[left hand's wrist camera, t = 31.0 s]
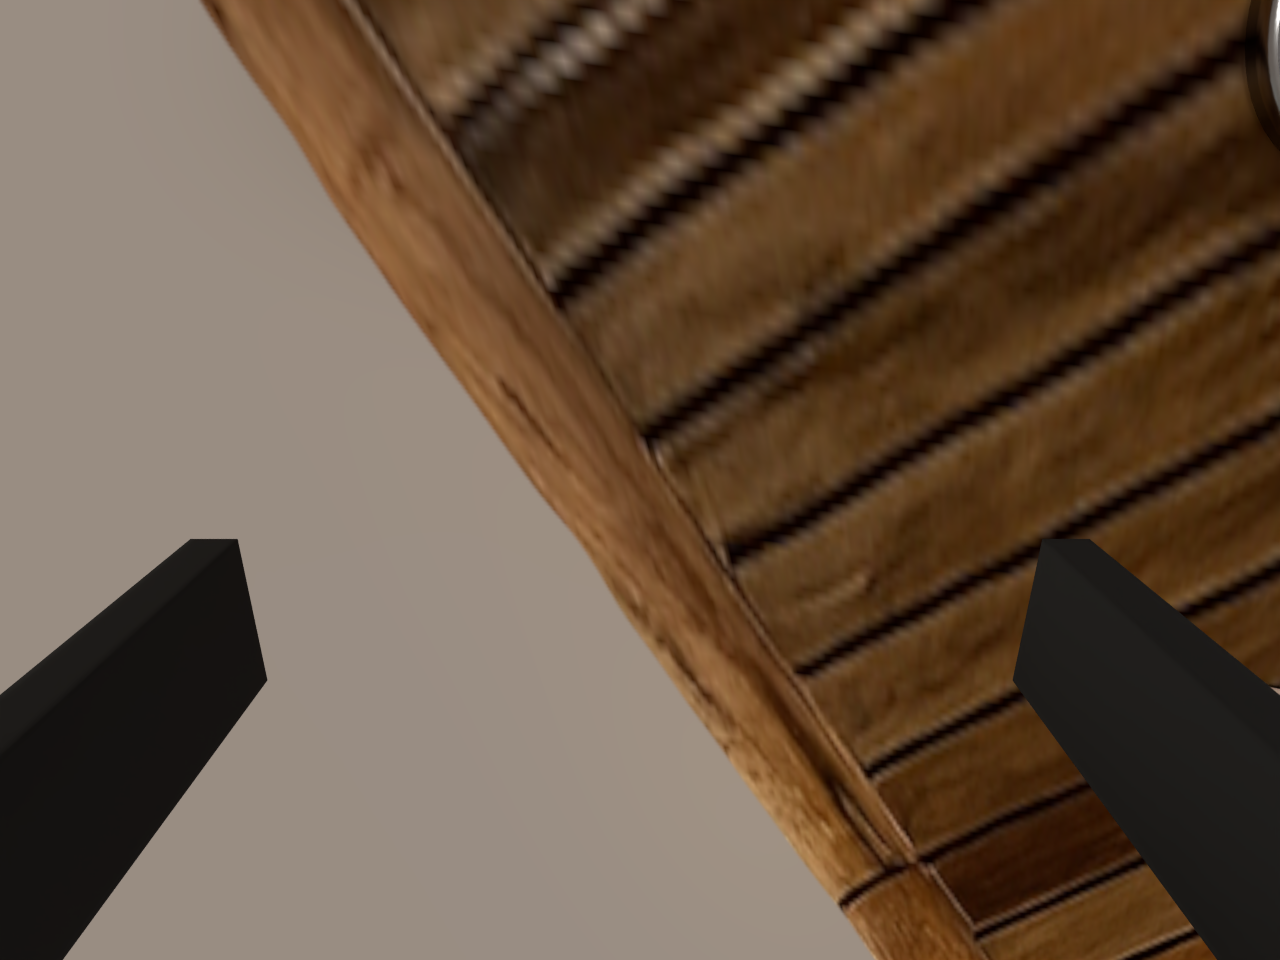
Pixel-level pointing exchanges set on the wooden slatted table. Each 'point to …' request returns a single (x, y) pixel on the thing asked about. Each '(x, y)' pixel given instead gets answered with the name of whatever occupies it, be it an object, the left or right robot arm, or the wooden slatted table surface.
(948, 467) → the wooden slatted table surface
